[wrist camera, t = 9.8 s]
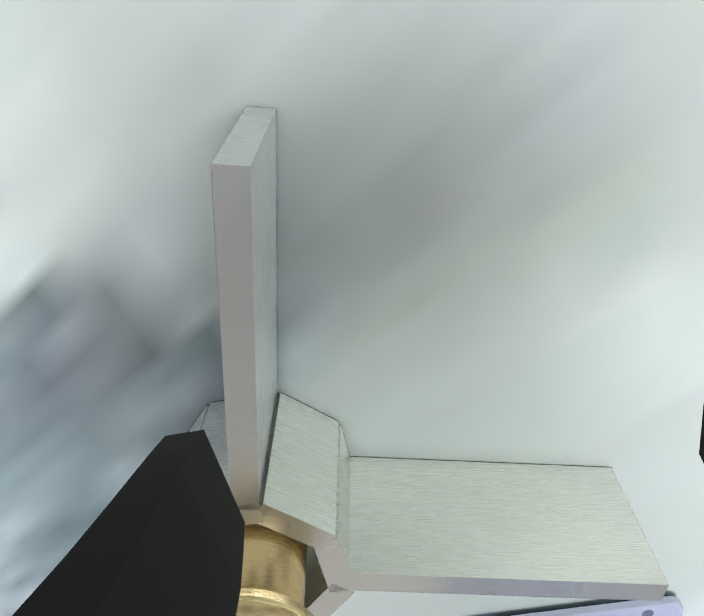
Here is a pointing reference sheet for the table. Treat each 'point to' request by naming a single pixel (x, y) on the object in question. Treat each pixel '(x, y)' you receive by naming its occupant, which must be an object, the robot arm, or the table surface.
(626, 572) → the steel hinge
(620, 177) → the table surface
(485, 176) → the table surface
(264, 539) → the hinge pin
